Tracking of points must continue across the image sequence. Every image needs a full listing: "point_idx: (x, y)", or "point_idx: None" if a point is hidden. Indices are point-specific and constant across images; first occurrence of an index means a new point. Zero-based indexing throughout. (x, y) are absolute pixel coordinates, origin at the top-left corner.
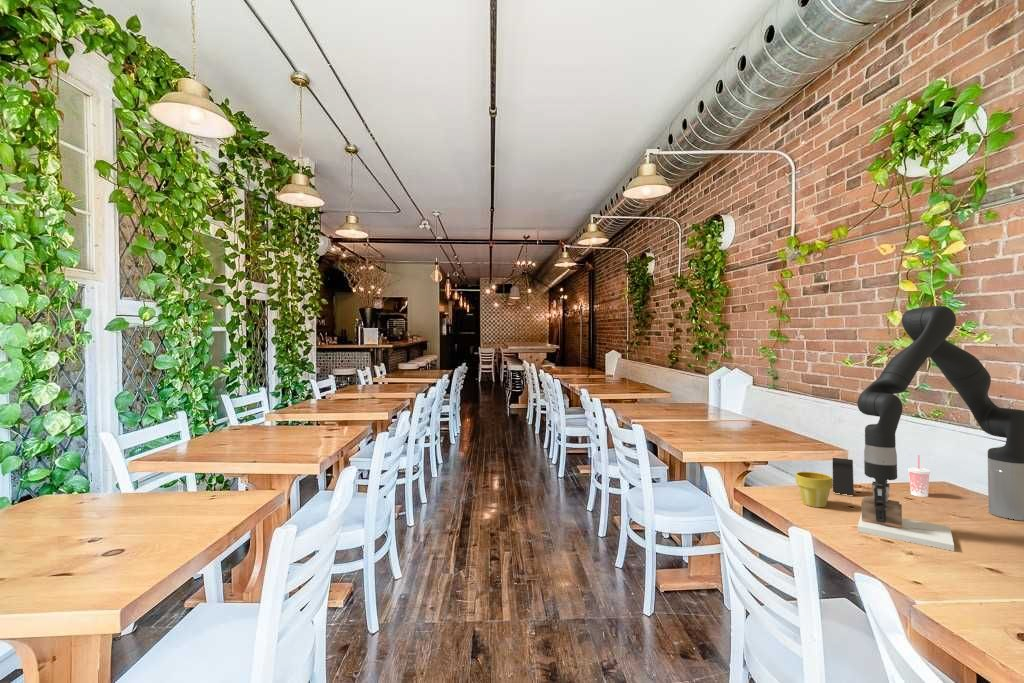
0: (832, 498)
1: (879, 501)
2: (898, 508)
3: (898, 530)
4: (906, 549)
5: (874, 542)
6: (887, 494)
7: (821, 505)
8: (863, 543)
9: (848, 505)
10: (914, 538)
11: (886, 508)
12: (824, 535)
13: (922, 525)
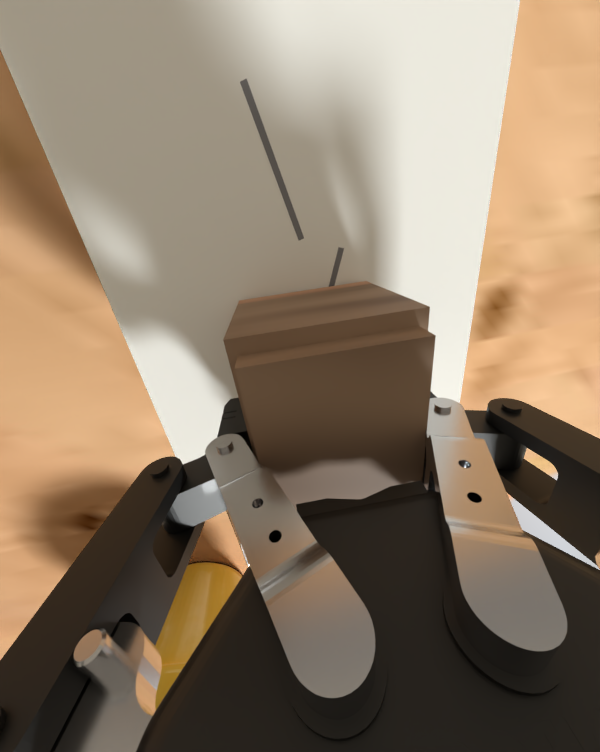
0: (40, 586)
1: (377, 475)
2: (421, 332)
3: (406, 289)
4: (579, 219)
5: (541, 345)
6: (506, 498)
7: (227, 574)
8: (572, 371)
9: (78, 531)
10: (485, 193)
11: (447, 401)
12: (542, 470)
13: (170, 178)
